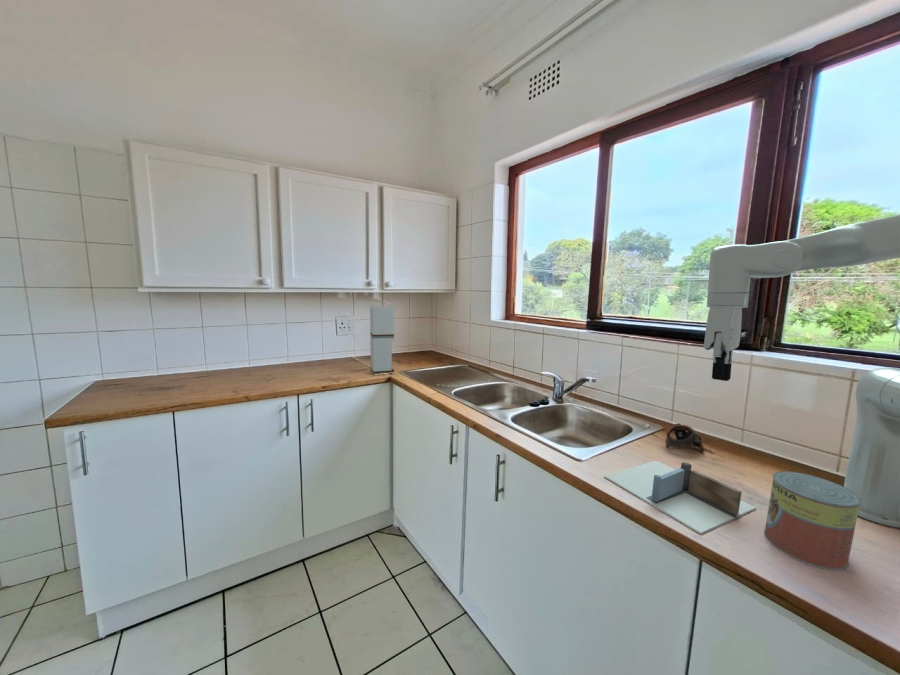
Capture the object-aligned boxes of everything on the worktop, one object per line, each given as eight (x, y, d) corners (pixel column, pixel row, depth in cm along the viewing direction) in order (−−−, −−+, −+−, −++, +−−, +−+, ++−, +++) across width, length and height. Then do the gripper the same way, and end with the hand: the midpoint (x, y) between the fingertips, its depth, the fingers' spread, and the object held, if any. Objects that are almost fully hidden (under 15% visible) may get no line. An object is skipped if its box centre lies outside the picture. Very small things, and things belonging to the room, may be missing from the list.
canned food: (757, 519, 75) (766, 465, 73) (833, 540, 69) (844, 481, 67) (772, 553, 65) (782, 492, 63) (861, 580, 59) (875, 513, 58)
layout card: (756, 509, 78) (757, 507, 78) (701, 535, 70) (702, 532, 69) (656, 461, 99) (656, 460, 99) (603, 477, 90) (604, 475, 90)
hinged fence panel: (677, 487, 85) (679, 465, 84) (683, 490, 84) (686, 467, 83) (650, 499, 80) (652, 475, 79) (656, 502, 78) (658, 478, 78)
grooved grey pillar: (393, 374, 189) (393, 307, 184) (373, 375, 186) (372, 307, 181) (390, 369, 200) (390, 306, 195) (370, 370, 196) (370, 306, 191)
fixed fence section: (739, 516, 76) (743, 487, 75) (733, 519, 75) (738, 489, 74) (681, 487, 86) (684, 461, 85) (676, 489, 85) (679, 463, 84)
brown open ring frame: (712, 459, 102) (704, 437, 100) (677, 468, 105) (668, 447, 103) (693, 433, 113) (686, 412, 111) (662, 441, 116) (654, 421, 114)
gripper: (716, 299, 90) (711, 371, 92) (697, 301, 80) (691, 382, 83) (755, 300, 84) (748, 376, 86) (739, 302, 75) (732, 388, 77)
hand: (720, 379), depth 85 cm, fingers closed
